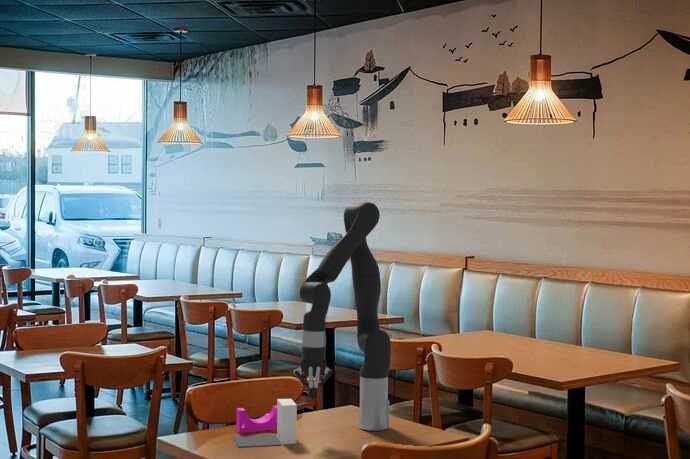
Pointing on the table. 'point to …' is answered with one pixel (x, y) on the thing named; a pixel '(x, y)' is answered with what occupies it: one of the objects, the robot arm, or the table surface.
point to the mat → (257, 440)
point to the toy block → (256, 421)
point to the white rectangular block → (286, 421)
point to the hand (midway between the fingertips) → (312, 399)
